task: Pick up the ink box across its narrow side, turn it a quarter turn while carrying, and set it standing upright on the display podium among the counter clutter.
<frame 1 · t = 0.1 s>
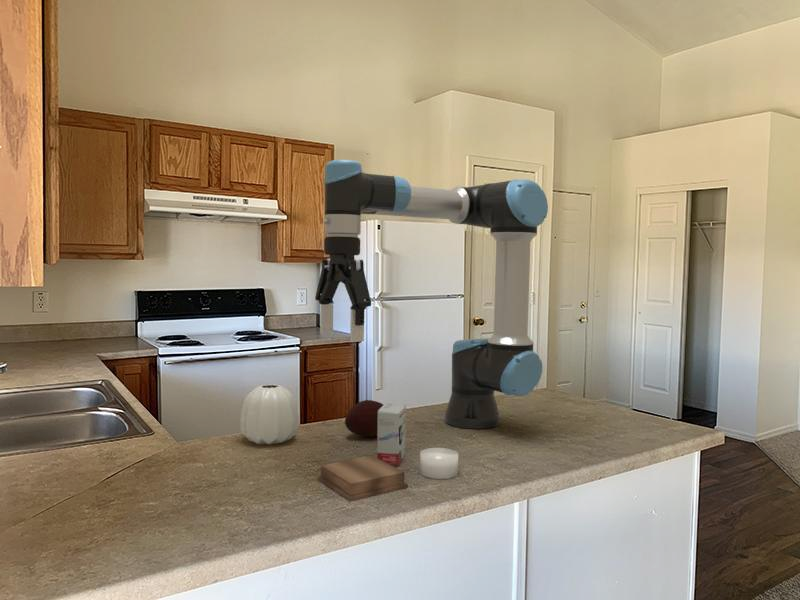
hand: (341, 337, 129), 28 cm above the counter, fingers open, 13 cm apart
ink box: (391, 460, 137), on the counter
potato: (367, 437, 154), on the counter
podium: (362, 483, 122), on the counter
white dome button: (438, 472, 129), on the counter
vase: (269, 441, 150), on the counter
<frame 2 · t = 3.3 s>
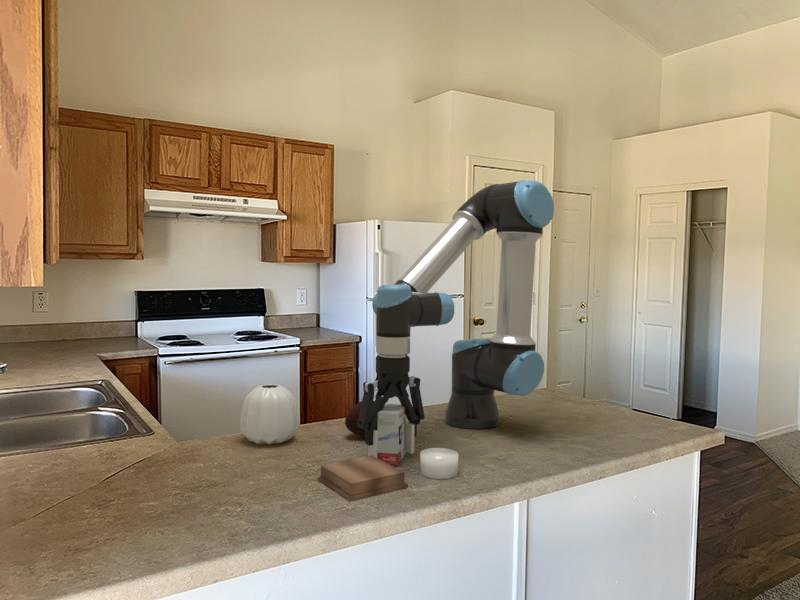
hand: (391, 455, 137), 1 cm above the counter, fingers closed on ink box, 9 cm apart
ink box: (391, 460, 137), on the counter, touching gripper
everything else where it was.
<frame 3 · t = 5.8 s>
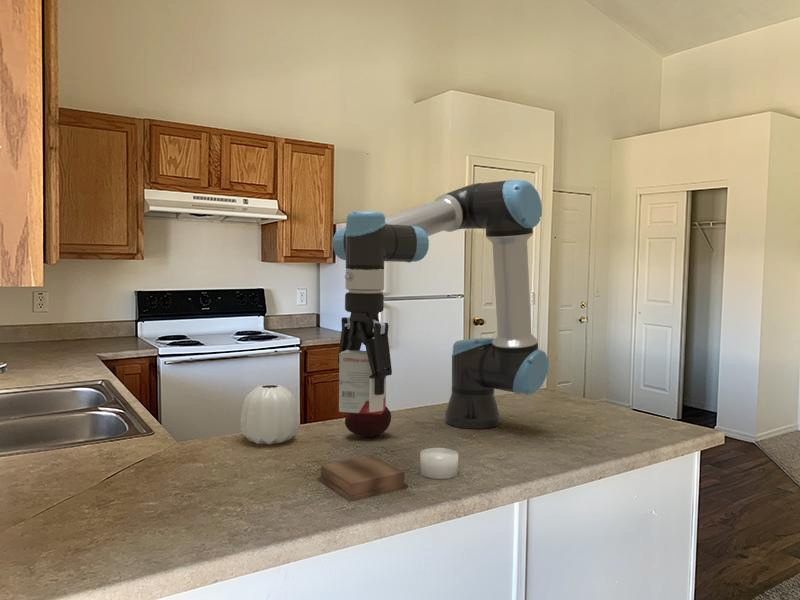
hand: (362, 405, 121), 16 cm above the counter, fingers closed on ink box, 9 cm apart
ink box: (362, 411, 121), point 14 cm above the counter, touching gripper
everything else where it was.
when the fingers open (5 cm above the counter, at t = 8.6 s): ink box stays where it is, resting on podium.
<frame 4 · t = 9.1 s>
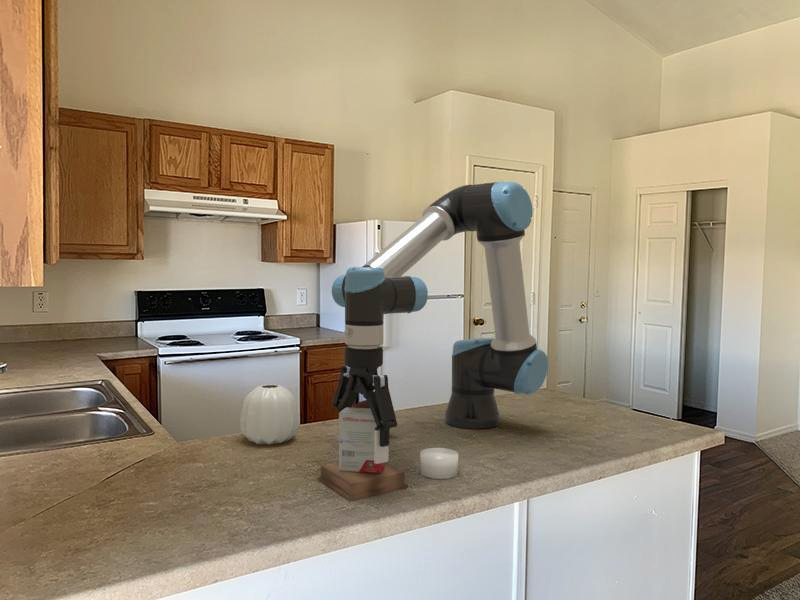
hand: (362, 452, 122), 6 cm above the counter, fingers open, 13 cm apart
ink box: (362, 469, 122), point 3 cm above the counter, touching podium
everything else where it was.
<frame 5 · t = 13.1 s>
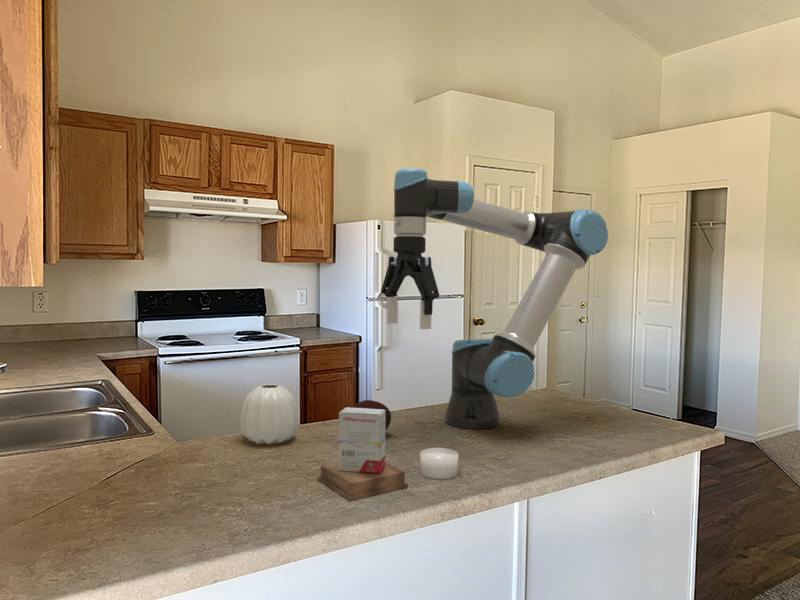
hand: (408, 326, 146), 29 cm above the counter, fingers open, 13 cm apart
nothing on the counter moved.
at the end: ink box inside the target area on the podium (0.1 cm from its centre), point 2.8 cm above the podium's base; ink box tilted 0°; ink box touching podium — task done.
